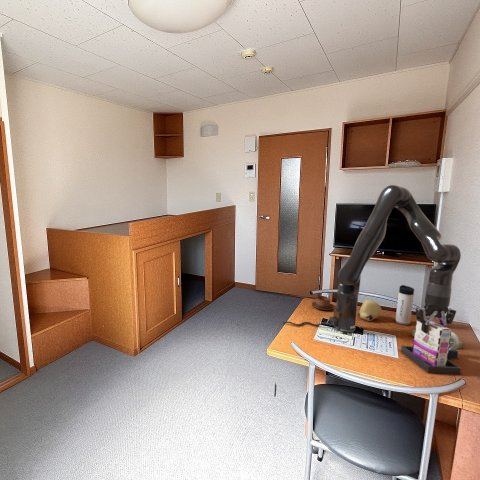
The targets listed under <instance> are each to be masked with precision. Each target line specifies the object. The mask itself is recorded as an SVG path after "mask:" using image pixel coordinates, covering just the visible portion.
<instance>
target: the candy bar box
mask: <svg viewBox="0 0 480 480" xmlns="http://www.w3.org/2000/svg"><path fill="white" fill-rule="evenodd" d="M428 325H429V327H428V333H424V332H423V331H422V330H421V327H422V323H420V322H419V321H417V320H416V322H415V330H414V331H415V337H414V336H413V337H414V338H413V345H412V346H413V351H412V353H413V354H415V355H416V356H417V357H419V358H420V359H422V360H423V361H425V362H427V363H428V364H430V365H432V366H446V364H447V357H448V351H449V344H450V338H451V337H452V336H451V332H453V331H452V328H449V327H448V326H446V327H445V326H443V325H441V324H439V323H438V322H436V321H433V320H432V321H430V322H429V324H428Z"/></svg>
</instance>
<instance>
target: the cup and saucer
mask: <svg viewBox="0 0 480 480" xmlns="http://www.w3.org/2000/svg"><path fill="white" fill-rule="evenodd" d="M311 305H312V306H313V307H314V308H315V309H318V310H321V311H331V310H334V309H335V305H334V304H332V303H331V298H330V297H328V296H323V295H318V296H316V301H312V302H311Z"/></svg>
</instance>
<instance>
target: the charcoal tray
mask: <svg viewBox="0 0 480 480" xmlns="http://www.w3.org/2000/svg"><path fill="white" fill-rule="evenodd" d="M412 351H413V345H401V347H400V352H401V353H402V354H404V355H405V356H406V357H408V358H409V359H410V360H411V361H412V362H414V363H415V364H416V365H417V366H419V367H420V368H421V369H423V371H425V372H426V373H428V374H445V375H446V374H447V375H448V374H450V375H461V369H462V368H461V367H460V366H458V365H457V364H455V363H454V362H453V361H452V360H450V359H447V364H446V366H432V365H430V364H428V363H427V362H425V361H423V360H422V359H420V358H419V357H417V356H416V355H415V354H413V353H412Z"/></svg>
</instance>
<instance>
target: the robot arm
mask: <svg viewBox="0 0 480 480" xmlns="http://www.w3.org/2000/svg"><path fill="white" fill-rule="evenodd" d="M419 206H420V205H418V204H417V202H416V199H415V198H414V196H413V195H412V192H411V191H410V190H409V189H407V188H406V187H403V186H399V185H395V184H390V185H387V186H386V187H384V188H383V189H382V190H381V192H380V194H379V195H378V198H377V200H376V202H375V205H374V208H373V210H372V212H371V213H370V215H369V217H368V219H367V221H366V224H365V225H364V227H363V228H362V230H361V231H360V233H359V235H358V237H357V239H356V241H355V243H354V246H353V248H352V251H351V253H350V256H349V258H348V259H347V261H346V262H345V263H344V265H343V266H342V267H341V268H340V270H339V271H338V273H337V278H338V280H339V281H338V286H337V292H336V303H335V307H334V308H333V316H329V320H327V321H323V322H320V323H318V324H315V323H313V322H310V321H303V322H301V323H294V322H291V321H284V322H283V323H282V324H283V325H285V324H290V325H293V326H298V327H301V326H303V325H305V324H307V325H311V326H314V327H319V326H321V325H324V324H331V326H333V328H335V330H336V331H340V332H344V333H354V332H355V331H356V321H357V314H358V313H357V311H358V303H359V294H360V286H361V279H362V275H361V274H362V273H363V270H364V268H365V266H366V264H368V261H369V260H370V259H371V258H372V257H373V255H374V254H375V252H376V251H377V250H378V249H379V247H380V245H381V243H382V242H383V240H384V239H385V236H386V232H387V222H388V218H389V216H390V214H391V212H392V210H394V208H396V209H397V210H398V211H399V212H400V213H402V215H403V216H404V217H405V218H406V221H407V223H408V226H409V228H410V231H412V233H413V234H414V235H415V237H416V238H417V239H418V240H419V242H420V243H421V246H422V248H423V251H424V254H425V255H426V257H427V258H428V259H429V260H430V261H432V262H433V263H437V265H435V266H433V267H431V268H430V269H429V273H428V281H427V284H426V289H425V296H424V306H423V307H416V308H415V316H416V322H417V321H419V322H420V323H422V327H421V330H422V331H423V332H424V333H428V327H429V325H428V324H429V322H430V321H433V320H434V319H437V320H438V322H439V323H438V324H441V325H443V326H445V327H447V325H452V324H453V322H454V319H455V316H456V314H457V310H454V309H453V308H451V307H450V305H451V298H452V289H453V288H452V286H453V285H452V284H453V277H454V273H455V271H456V270H457V267H458V266H459V264H460V261H461V257H462V252H461V250H460V248H459V247H458V246H457V245H455V244H451V243H446V244H442V243H441V242H440V240H441V239H442V233H441V232H440V231H439V230H438V229H437V228H436V226H435V225H434V224H433V223H432V222H431V221H430V219H429V218H428V217H427V216H426V215H425V214H424V212H423V211H422V210H421V208H420V207H419ZM273 396H274V397H277V384H276V382H274V395H273Z"/></svg>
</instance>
